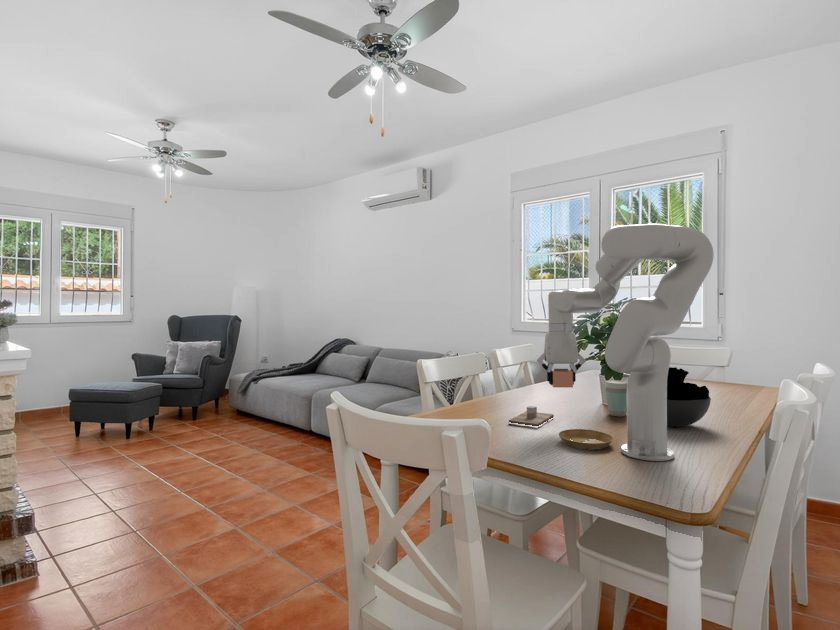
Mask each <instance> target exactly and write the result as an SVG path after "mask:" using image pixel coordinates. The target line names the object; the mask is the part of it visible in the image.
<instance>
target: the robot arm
mask: <svg viewBox="0 0 840 630" xmlns="http://www.w3.org/2000/svg"><path fill="white" fill-rule="evenodd" d="M600 243H601V244H600V245H601V247H600V248H601V251H602V252H603V255H602V256H601V257H600V258H599V259H598V260H597V261H596V263H595V271H596V272H597V275H598V276H599V277H600V278H601V280H599V282H598V283H597V284H596V285H594V286H593V287H592V288H570V289H565V290H553V291H550V292H549V293H548V295H547V296H548V297H547V299H548V300H547V302H548V303H547V304H548V306H547V307H548V308H547V309H548V332H546V333H545V336H544V337H545V338H544V347H543V348H544V350H543V351H544V352H543V353H542V354H541V355H540V356H539V357H538V358H537V359H536V362H537V363H538V364H539V365H540V366H541V367H542V368H543V369H544V370H545V371H546V380H547V383H548V384H549V385H550V386H551V385H552V384H553V373H552V369H553V367H554V364H555V365H556V364H557V365H558V364H561V365H568V366H569V368H570V371H572V372H573V386H574V385H575V382H577V381H576V378H577V377H576V372H578V371H579V369H580V368H581V367H582V366H583V364H585V363H586V361H587V360H586V359H585V358H584V357H583V356H582V355H581V354H580V353H579V352H578V351H579V350H578V341H577V337H576V333H575V332H574V331H575V330H578V325H577V324H574V321H573V320H574V319H573V318H574V317H573V315H574V314H593V313H597V312H599V311H601V310H602V309H604V308H605V307H606V306H608V305H609V304H610V303H611V302H612V301H613V300H614V299H615V298H616V296H617V294H618V292H619V289H620V286H621V281H622V280H623V279H624V278H626V276H627V275H628V274H630V272H632V271H633V270H634V269H635V268H636V267H637V266H638V265H640V264H641V263H642V262H643V261H644V260H650V261H651V260H653V261H654V260H655V261H656V260H657V261H673V265H672V266H671V267H670V268H669V269H668V270H667V271H666V272H665V273H664V275H662V276H661V279H660V281H659V282H658V286H657V288H656V290H655V291H654V293H653V295H651V297H639V298H635V299H632V300H631V301H629V302H628V303H627V304H625V306H624V307H623V308H622V310H621V311H620V312H619V315H618V317H617V320H616V322H615V324H614V326H613V327H612V331H611V333H610V336H609V338H608V340H607V342H606V345H605V350H604V358H605V362H606V365H607V366H608V367H609V369H611V370H612V371H614V372H617V373H619V374H620V373H622V374H626V373H627V374H628V377H627V381H626V382H627V412H626V440H627V441H626V443H624V444H622V445H621V446H620V452H621V453H622V454H624V455H625V456H627V457H630V458H633V459H636V460H644V461H652V462H665V461H669V460H673V459H674V457H675V452H674V451H673V450H672V449H671V448H669V447H668V425H667V376H668V369H669V367H670V364H671V357H672V355H671V348H670V346H669V344H668V342H667V341H666V340H665V339H663V338H662V337H660V336H668V335H671V334H674V333H675V332H677V331H678V330H679V329H680V327H681V325H683V322H684V320H685V318H686V316H687V314H688V313H689V310H690V308H691V306H692V305H693V302H694V301H695V298H696V296H697V293H698V291H699V290H700V288H701V286H702V284H703V283H704V281H705V280H706V277H707V276H708V275H709V272H710V270H711V269H712V265H713V262H714V248H713V245H712V241H710V239H709V238H708V236H707V235H706V234H704V233H703V232H702V231H700V230H699V229H696V228H693V227H689V226H683V225H675V224H674V225H672V224H664V223H645V224H629V225H628V224H627V225H626V224H625V225H624V224H623V225H615V226H613V227H611V228H610V229H608V230H607V231H606V232H605V234H603V237H602V239H601V241H600ZM543 360H544V361H545V362H547V364H546V363H544V361H543Z"/></svg>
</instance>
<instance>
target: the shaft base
mask: <svg viewBox="0 0 840 630" xmlns="http://www.w3.org/2000/svg"><path fill="white" fill-rule="evenodd" d="M537 408H538V407H537V406H533V405H529V406H527V407H526V411H525V412H522V413H520V414H518V415H517V416H513V417H512V418H510V419H509V420H508V423H509V422H511V423H518V424H525V425H532V426H539V425H541V424H543V423H544V422H546V421H548V420H549V419H551V418H553V417H554V418H555V415H554V414H552V413H544V412H538V409H537Z"/></svg>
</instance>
